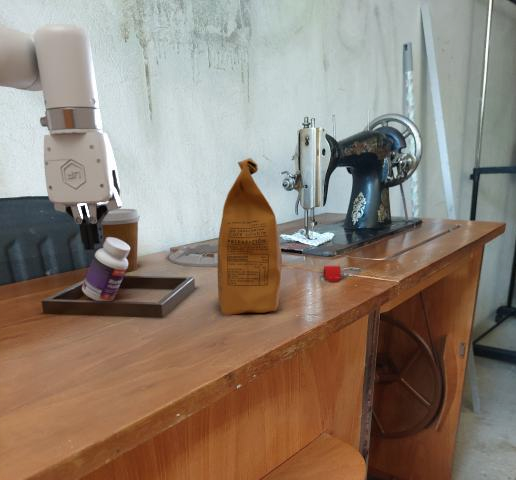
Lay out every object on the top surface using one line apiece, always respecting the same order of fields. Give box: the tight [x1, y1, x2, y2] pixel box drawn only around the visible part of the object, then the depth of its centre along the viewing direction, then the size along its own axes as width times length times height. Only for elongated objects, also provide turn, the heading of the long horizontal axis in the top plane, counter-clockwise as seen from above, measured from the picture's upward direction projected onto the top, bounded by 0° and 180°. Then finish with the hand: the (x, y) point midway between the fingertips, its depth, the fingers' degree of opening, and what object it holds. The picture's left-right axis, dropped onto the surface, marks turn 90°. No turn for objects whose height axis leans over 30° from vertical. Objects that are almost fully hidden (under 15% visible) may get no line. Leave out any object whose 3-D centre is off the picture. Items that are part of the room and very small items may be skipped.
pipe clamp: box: [323, 265, 342, 283], centre depth 99 cm, size 8×3×2 cm, turn 179°
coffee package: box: [217, 157, 283, 316], centre depth 78 cm, size 10×12×22 cm
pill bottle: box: [82, 237, 130, 301], centre depth 83 cm, size 5×5×10 cm
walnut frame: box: [41, 275, 196, 319], centre depth 85 cm, size 19×17×2 cm
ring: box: [169, 243, 218, 267], centre depth 119 cm, size 19×19×2 cm
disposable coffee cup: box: [100, 208, 141, 273], centre depth 107 cm, size 10×10×12 cm
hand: (94, 248), depth 82 cm, fingers closed
